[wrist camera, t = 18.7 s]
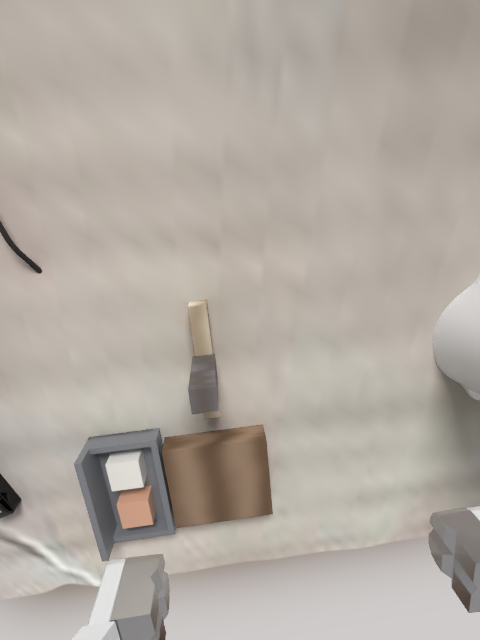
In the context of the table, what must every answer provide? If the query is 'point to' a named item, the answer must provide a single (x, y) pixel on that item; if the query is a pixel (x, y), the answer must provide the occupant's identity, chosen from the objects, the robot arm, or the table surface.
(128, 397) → the table surface
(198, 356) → the grey block with handle
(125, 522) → the tile
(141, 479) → the tile
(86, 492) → the box
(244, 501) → the brown square slab
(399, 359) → the table surface
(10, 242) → the glasses
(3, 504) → the portable electronic device stand
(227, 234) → the table surface
